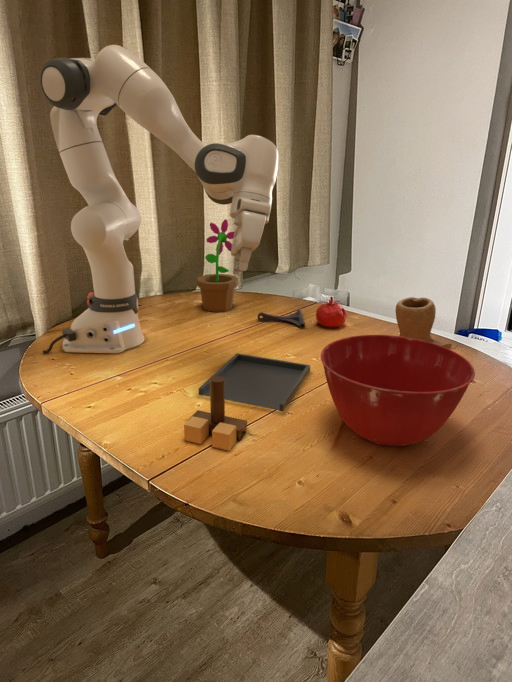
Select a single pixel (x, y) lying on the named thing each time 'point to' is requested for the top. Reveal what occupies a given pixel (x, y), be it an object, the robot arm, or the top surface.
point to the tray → (259, 381)
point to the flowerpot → (218, 275)
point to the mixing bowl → (394, 386)
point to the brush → (220, 409)
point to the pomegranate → (331, 314)
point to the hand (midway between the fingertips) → (239, 272)
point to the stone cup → (417, 319)
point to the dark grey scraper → (284, 318)
